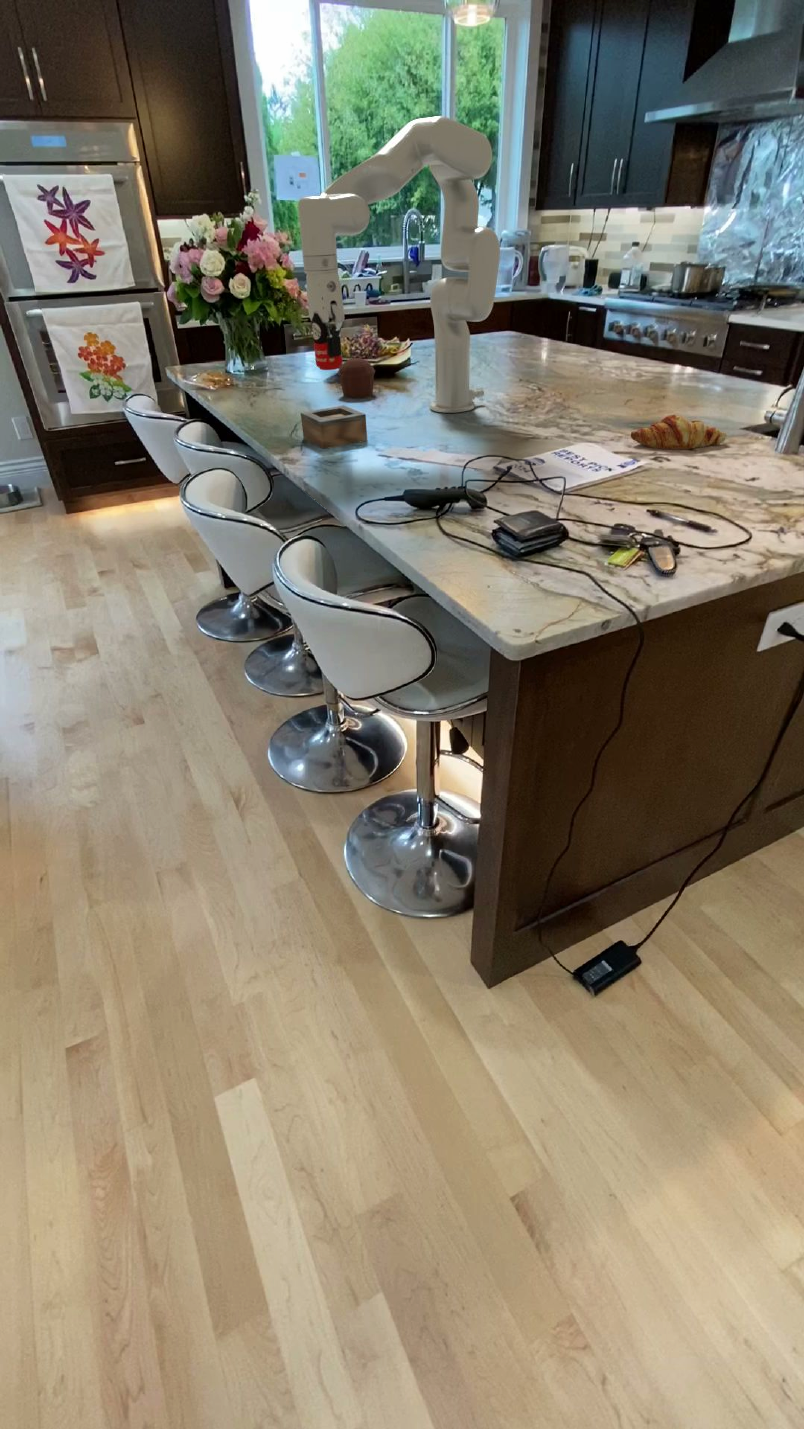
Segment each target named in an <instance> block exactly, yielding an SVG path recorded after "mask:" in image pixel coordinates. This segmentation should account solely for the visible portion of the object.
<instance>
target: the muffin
mask: <svg viewBox="0 0 804 1429" xmlns="http://www.w3.org/2000/svg"><path fill="white" fill-rule="evenodd" d="M375 373H376V370H375V368H374V366H373V365H372V364H371V363H370V362H369V361H367V360H366V359H364V358H360V357H355V358H349V359H347V360H346V361H345V362H342V365H341V366H340V367H339V368H338V371H337V375H338V378H339V381H340V385H341V389H342V394H343V397H345V398H347V399H348V398H350V399H364V398H368V397H371V396H373V394H374V393H373V392H374V384H375V381H374V380H375Z"/></svg>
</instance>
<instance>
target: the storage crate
mask: <svg viewBox="0 0 804 1429" xmlns="http://www.w3.org/2000/svg"><path fill="white" fill-rule="evenodd" d="M300 421H301V426H302V427H301V428H302V437H303V439H304V440H305V441H308V442H309V443H311V444H314V445H315V446H317V447H318V448H320V449H323V450H326V449H331V448H336V447H342V446H347V445H352V444H357V443H362V442H367V441H368V433H367V432H368V431H367V416H366V414H365V413H363V412H361V411H358V410H356V409H353V408H352V407H349V406H346V405H345V404H344V405H338V406H334V407H326V408H321V409H315V410H308V411H303V412H300Z"/></svg>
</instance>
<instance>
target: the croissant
mask: <svg viewBox="0 0 804 1429" xmlns="http://www.w3.org/2000/svg"><path fill="white" fill-rule="evenodd" d="M727 437H728V436H727V433H726V432H722V431H721V430H719V429H718V428H717V427H711V426H708V425H707V424H704V422H703V421H701V420H691V421H690V422H689V420H688V419H687V417H685V416H683V415H679V414H678V415H677V414H672V415H671V414H669V415H666V416H665V417H663V418H662V419H661V420H660V421H655V422H653V423H652V424H651V425H650V426H649V427H642V428H639V429H638V430H636V431H634V430H633V431H631V433H630V439H632V440H633V441H634V442H636V443H638V444H641V445H644V446H646V447H649V448H652V449H656V448H657V449H662V450H663V449H665V450H689V449H690V450H691V449H695V448H703V447H704V448H705V447H708V446H710V445H714V446H716V445H720V444H721V443H723V442H725V440H726V438H727Z"/></svg>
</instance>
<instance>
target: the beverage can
mask: <svg viewBox="0 0 804 1429" xmlns="http://www.w3.org/2000/svg"><path fill="white" fill-rule="evenodd" d="M331 321H334V319H329V322H331ZM332 326H333V325H331V326H330V328H331V329H332ZM311 327H312V338H313V339H312V340H313V348H314V357H315V365H316V367H317V368H319V370H322V371H333V370H339V368H340V367H341V365H342V364H343V353H342V352H343V351H342V349H343V348H341V356H335V357H329V356H328V348H327V338H329V337H328V334H327V329H326V324H324V323H323V322H322V320H321V318H320V317H319V315H318V312H314V315H313V318H312V324H311ZM341 339H342V338H341V336H340V341H341V342H342V340H341Z"/></svg>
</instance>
